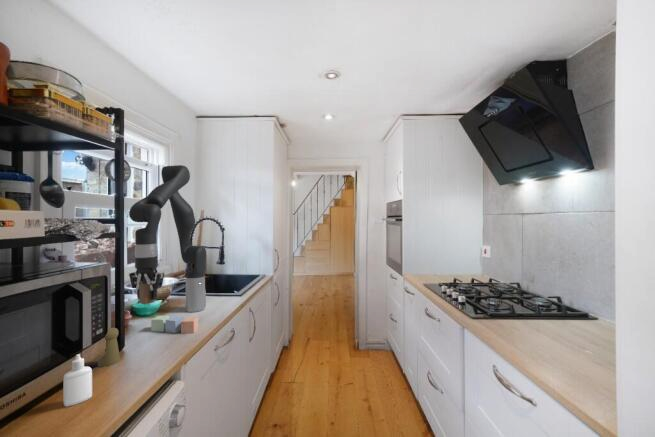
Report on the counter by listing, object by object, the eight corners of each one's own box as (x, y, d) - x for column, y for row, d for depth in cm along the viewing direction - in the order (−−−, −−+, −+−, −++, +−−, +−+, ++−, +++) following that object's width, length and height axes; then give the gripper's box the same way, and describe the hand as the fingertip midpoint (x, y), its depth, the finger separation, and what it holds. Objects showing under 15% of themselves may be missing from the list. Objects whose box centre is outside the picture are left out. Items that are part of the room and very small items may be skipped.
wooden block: (139, 303, 113) (138, 282, 113) (149, 300, 117) (149, 280, 117) (144, 304, 111) (144, 283, 111) (155, 302, 115) (154, 281, 114)
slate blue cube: (174, 327, 128) (174, 316, 128) (184, 328, 127) (184, 317, 127) (165, 331, 123) (165, 319, 123) (175, 333, 122) (175, 321, 122)
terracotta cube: (186, 329, 126) (186, 317, 126) (198, 328, 126) (198, 317, 126) (181, 333, 121) (181, 321, 121) (193, 333, 121) (193, 321, 121)
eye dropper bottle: (87, 403, 75) (87, 356, 75) (60, 408, 73) (60, 360, 73) (94, 394, 79) (94, 349, 79) (68, 398, 77) (68, 352, 77)
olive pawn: (124, 359, 99) (124, 326, 99) (105, 368, 93) (105, 333, 93) (111, 356, 101) (111, 324, 101) (92, 365, 95) (92, 331, 95)
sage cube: (158, 327, 129) (158, 315, 129) (169, 327, 129) (169, 315, 129) (151, 331, 124) (151, 319, 124) (163, 331, 124) (163, 319, 124)
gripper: (169, 254, 116) (170, 297, 116) (138, 253, 119) (138, 295, 119) (155, 257, 109) (155, 302, 109) (122, 256, 111) (122, 301, 111)
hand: (147, 298), depth 114 cm, fingers closed on wooden block, 5 cm apart
